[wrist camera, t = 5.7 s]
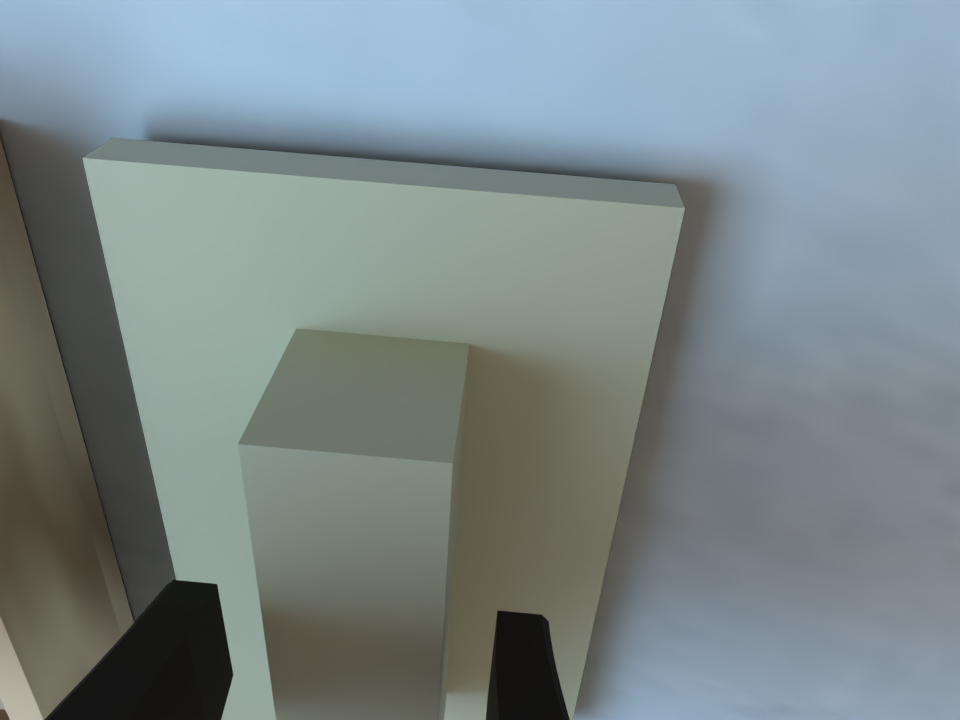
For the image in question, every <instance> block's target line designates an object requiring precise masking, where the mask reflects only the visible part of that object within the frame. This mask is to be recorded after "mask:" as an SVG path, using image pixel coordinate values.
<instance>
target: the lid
mask: <svg viewBox="0 0 960 720" xmlns="http://www.w3.org/2000/svg"><path fill="white" fill-rule="evenodd" d="M82 159H83V163H84V168H85V172H86V177H87V181H88V186H89V190H90V195H91V199H92V204H93V208H94V213H95V217H96V222H97V226H98V231H99V235H100V240H101V244H102V249H103V253H104V258H105V262H106V267H107V271H108V276H109V280H110V285H111V289H112V294H113V298H114V303H115V307H116V312H117V316H118V321H119V325H120V330H121V334H122V338H123V343H124V347H125V352H126V356H127V361H128V365H129V370H130V374H131V379H132V383H133V388H134V392H135V397H136V401H137V406H138V410H139V415H140V419H141V424H142V428H143V433H144V437H145V442H146V446H147V451H148V455H149V460H150V464H151V469H152V473H153V478H154V482H155V487H156V491H157V496H158V500H159V505H160V509H161V514H162V518H163V523H164V527H165V532H166V536H167V541H168V545H169V550H170V554H171V559H172V563H173V568H174V572H175V577H176V580H181V581H192V582H202V583H213V584H217V586H218V592H219V597H220V603H221V608H222V614H223V620H224V625H225V631H226V636H227V642H228V648H229V653H230V659H231V664H232V670H233V678H232V682H231V686H230V689H229V693H228V697H227V700H226V704H225V707H224V711H223V715H222V718H221V720H486V711H487V698H488V689H489V680H490V672H491V663H492V654H493V645H494V636H495V627H496V619H497V610H498V611H509V612H520V613H530V614H541V615H543V616H544V617H545V618H546V619H547V620H548V621H549V629H550V636H551V642H552V648H553V654H554V659H555V663H556V668H557V673H558V677H559V681H560V685H561V689H562V693H563V697H564V700H565V704H566V708H567V712H568V715H569V719H570V720H573V716H574V712H575V707H576V702H577V698H578V693H579V689H580V684H581V680H582V675H583V671H584V666H585V662H586V657H587V652H588V648H589V643H590V639H591V634H592V630H593V625H594V621H595V616H596V611H597V607H598V602H599V598H600V593H601V589H602V584H603V580H604V575H605V570H606V566H607V561H608V557H609V552H610V548H611V543H612V539H613V534H614V529H615V525H616V520H617V516H618V511H619V507H620V502H621V498H622V493H623V488H624V484H625V479H626V475H627V470H628V466H629V461H630V457H631V452H632V448H633V443H634V438H635V434H636V429H637V425H638V420H639V416H640V411H641V407H642V402H643V397H644V393H645V388H646V384H647V379H648V375H649V370H650V366H651V361H652V356H653V352H654V347H655V343H656V338H657V334H658V329H659V325H660V320H661V315H662V311H663V306H664V302H665V297H666V293H667V288H668V284H669V279H670V275H671V270H672V265H673V261H674V256H675V252H676V247H677V243H678V238H679V234H680V229H681V224H682V220H683V215H684V211H685V207H684V204H683V202H682V199H681V197H680V194H679V192H678V189H677V187H676V184H665V183H653V182H641V181H629V180H617V179H604V178H592V177H580V176H568V175H556V174H544V173H532V172H520V171H508V170H496V169H483V168H471V167H459V166H447V165H435V164H423V163H411V162H399V161H387V160H375V159H363V158H350V157H338V156H326V155H314V154H302V153H290V152H278V151H266V150H254V149H242V148H229V147H217V146H205V145H193V144H181V143H169V142H157V141H145V140H133V139H121V138H111V139H109V140H108V141H107V142H105V143H104V144H102V145H101V146H99V147H98V148H96V149H95V150H93V151H92V152H90V153H89V154H88V155H86V156H85V157H83V158H82Z"/></svg>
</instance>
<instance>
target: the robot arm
mask: <svg viewBox="0 0 960 720" xmlns="http://www.w3.org/2000/svg"><path fill="white" fill-rule="evenodd" d="M232 678H233V670H232V664H231V659H230V653H229V648H228V642H227V636H226V631H225V625H224V620H223V614H222V608H221V603H220V597H219V592H218V586H217V584H213V583H202V582H192V581H181V580H173V581H172V582H170V583H169V584H167V585H166V587H165V588H164V589H163V590H162V591H161V592H160V594H159V595H158V596H157V597H156V598H155V599H154V600H153V602H152V603H151V604H150V605H149V606H148V607H147V608H146V610H145V611H144V612H143V613H142V614H141V615H140V616H139V618H138V619H137V620H136V621H135V622H134V623H133V624H132V626H131V627H130V628H129V629H128V630H127V631H126V632H125V633H124V635H123V636H122V637H121V638H120V639H119V640H118V641H117V642H116V643H115V645H114V646H113V647H112V648H111V649H110V650H109V651H108V652H107V653H106V654H105V656H104V657H103V658H102V659H101V660H100V661H99V662H98V663H97V664H96V665H95V667H94V668H93V669H92V670H91V671H90V672H89V673H88V674H87V675H86V676H85V677H84V678H83V679H82V680H81V681H80V682H79V683H78V685H77V686H76V687H75V688H74V689H73V690H72V691H71V692H70V693H69V694H68V695H67V696H66V697H65V698H64V699H63V700H62V701H61V702H60V703H59V704H58V706H57V707H56V708H55V709H54V710H53V711H52V712H51V713H50V714H49V715H48V716H47V717H46V718H45V719H44V720H221V718H222V715H223V711H224V707H225V704H226V700H227V697H228V693H229V689H230V686H231V682H232ZM486 720H570V719H569V715H568V712H567V708H566V704H565V700H564V697H563V693H562V689H561V685H560V681H559V677H558V673H557V668H556V663H555V659H554V654H553V648H552V642H551V636H550V629H549V621H548V620H547V619H546V618H545V617H544V616H543V615H541V614H530V613H520V612H509V611H498V610H497V619H496V627H495V636H494V645H493V654H492V663H491V672H490V680H489V689H488V698H487V711H486Z"/></svg>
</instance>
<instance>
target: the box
mask: <svg viewBox="0 0 960 720" xmlns="http://www.w3.org/2000/svg"><path fill="white" fill-rule="evenodd" d="M133 623H134V621H133V617H132V614H131V610H130V607H129V603H128V599H127V596H126V592H125V588H124V585H123V581H122V577H121V574H120V570H119V567H118V563H117V559H116V556H115V552H114V548H113V545H112V541H111V538H110V534H109V530H108V527H107V523H106V519H105V516H104V512H103V508H102V505H101V501H100V498H99V494H98V490H97V487H96V483H95V479H94V476H93V472H92V469H91V465H90V461H89V458H88V454H87V450H86V447H85V443H84V439H83V436H82V432H81V429H80V425H79V421H78V418H77V414H76V410H75V407H74V403H73V400H72V396H71V392H70V389H69V385H68V381H67V378H66V374H65V370H64V367H63V363H62V360H61V356H60V352H59V349H58V345H57V341H56V338H55V334H54V331H53V327H52V323H51V320H50V316H49V312H48V309H47V305H46V301H45V298H44V294H43V291H42V287H41V283H40V280H39V276H38V272H37V269H36V265H35V262H34V258H33V254H32V251H31V247H30V243H29V240H28V236H27V232H26V229H25V225H24V222H23V218H22V214H21V211H20V207H19V203H18V200H17V196H16V193H15V189H14V185H13V182H12V178H11V174H10V171H9V167H8V163H7V160H6V156H5V153H4V149H3V145H2V142H1V138H0V720H44V719H45V718H46V717H47V716H48V715H49V714H50V713H51V712H52V711H53V710H54V709H55V708H56V707H57V706H58V704H59V703H60V702H61V701H62V700H63V699H64V698H65V697H66V696H67V695H68V694H69V693H70V692H71V691H72V690H73V689H74V688H75V687H76V686H77V685H78V683H79V682H80V681H81V680H82V679H83V678H84V677H85V676H86V675H87V674H88V673H89V672H90V671H91V670H92V669H93V668H94V667H95V665H96V664H97V663H98V662H99V661H100V660H101V659H102V658H103V657H104V656H105V654H106V653H107V652H108V651H109V650H110V649H111V648H112V647H113V646H114V645H115V643H116V642H117V641H118V640H119V639H120V638H121V637H122V636H123V635H124V633H125V632H126V631H127V630H128V629H129V628H130V627H131V626H132V624H133Z"/></svg>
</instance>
